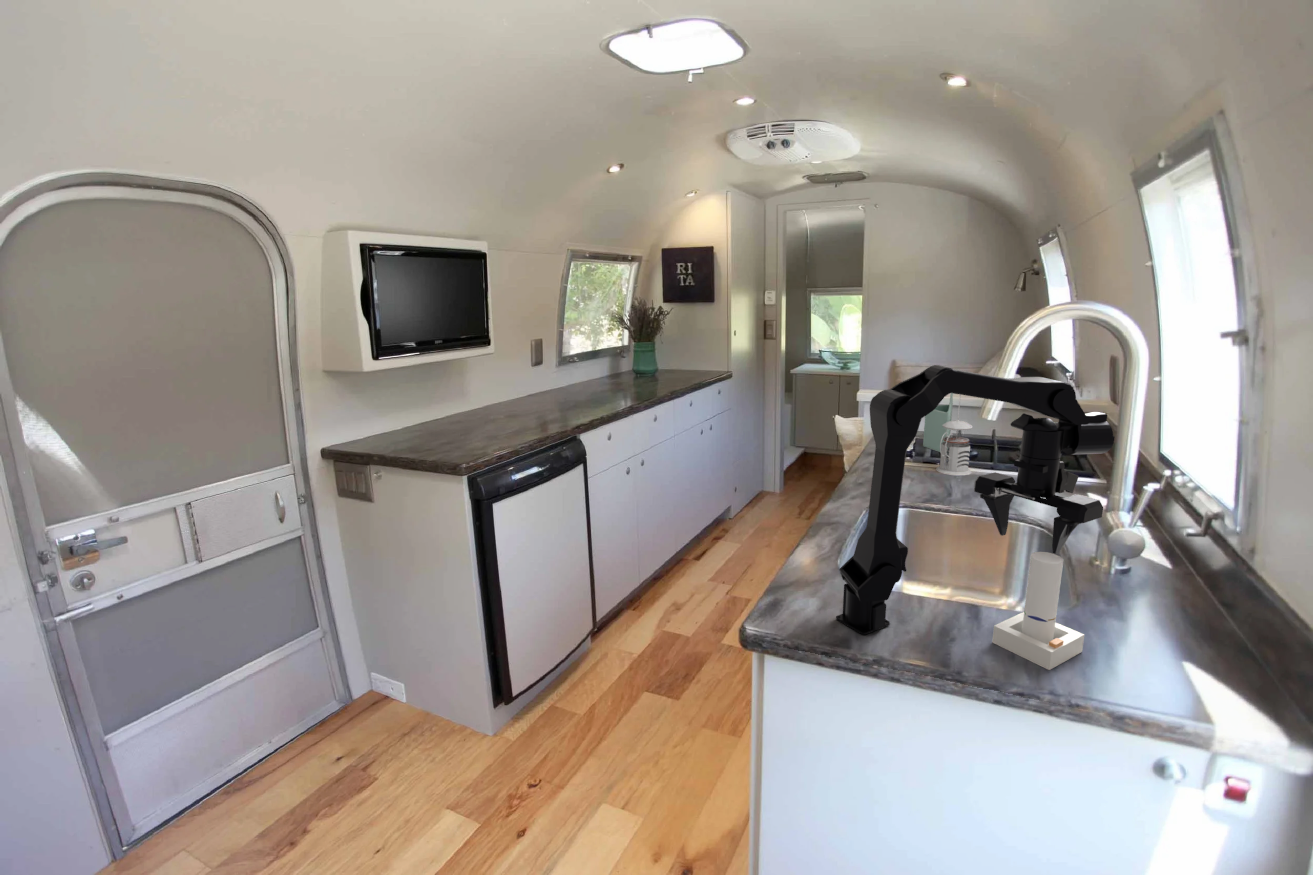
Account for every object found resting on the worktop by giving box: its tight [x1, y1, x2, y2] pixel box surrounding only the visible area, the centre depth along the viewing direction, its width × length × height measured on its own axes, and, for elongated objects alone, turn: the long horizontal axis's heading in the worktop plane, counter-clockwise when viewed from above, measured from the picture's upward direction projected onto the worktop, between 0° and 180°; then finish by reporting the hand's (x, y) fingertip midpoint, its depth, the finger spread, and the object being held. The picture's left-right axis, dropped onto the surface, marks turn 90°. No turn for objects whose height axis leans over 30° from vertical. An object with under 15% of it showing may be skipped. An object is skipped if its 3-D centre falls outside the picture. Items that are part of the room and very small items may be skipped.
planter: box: [922, 393, 954, 453], centre depth 219 cm, size 16×8×20 cm, turn 153°
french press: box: [935, 394, 973, 476], centre depth 191 cm, size 10×12×25 cm
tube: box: [1022, 551, 1065, 644], centre depth 101 cm, size 4×4×15 cm
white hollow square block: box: [991, 611, 1085, 671], centre depth 102 cm, size 9×9×4 cm
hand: (1028, 543), depth 110 cm, fingers open, 9 cm apart
